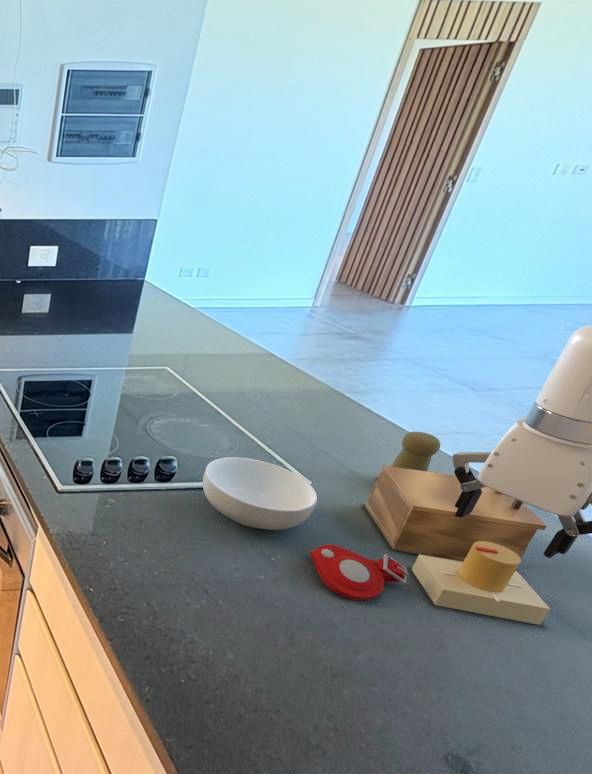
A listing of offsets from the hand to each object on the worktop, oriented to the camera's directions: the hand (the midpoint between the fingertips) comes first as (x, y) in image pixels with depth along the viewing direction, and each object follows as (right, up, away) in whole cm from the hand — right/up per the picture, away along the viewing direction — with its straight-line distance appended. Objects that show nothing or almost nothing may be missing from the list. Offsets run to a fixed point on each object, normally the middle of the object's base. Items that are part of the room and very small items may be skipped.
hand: (504, 533), depth 85 cm
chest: (+6, -4, +17) cm, 19 cm away
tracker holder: (-14, -9, +8) cm, 19 cm away
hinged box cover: (+7, +3, +14) cm, 16 cm away
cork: (+12, +3, +31) cm, 33 cm away
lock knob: (0, -7, +4) cm, 8 cm away
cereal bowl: (-21, -1, +23) cm, 31 cm away
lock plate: (0, -10, +5) cm, 11 cm away
